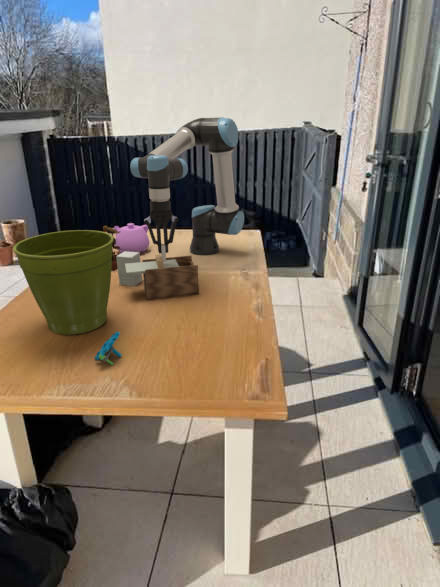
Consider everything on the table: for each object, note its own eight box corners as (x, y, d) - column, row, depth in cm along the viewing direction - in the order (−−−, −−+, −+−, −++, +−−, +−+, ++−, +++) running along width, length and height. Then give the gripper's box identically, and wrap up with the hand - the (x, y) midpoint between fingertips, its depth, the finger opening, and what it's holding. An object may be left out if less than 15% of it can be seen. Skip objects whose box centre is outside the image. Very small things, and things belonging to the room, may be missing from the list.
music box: (126, 263, 203) (121, 222, 193) (122, 272, 193) (117, 230, 184) (94, 263, 202) (88, 223, 193) (89, 273, 192) (82, 231, 183)
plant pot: (116, 300, 161) (107, 226, 150) (128, 335, 135) (119, 249, 124) (32, 312, 152) (16, 234, 141) (28, 352, 126) (8, 260, 115)
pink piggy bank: (133, 243, 234) (130, 216, 228) (159, 249, 223) (157, 221, 218) (105, 252, 220) (102, 223, 214) (132, 259, 209) (129, 229, 203)
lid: (175, 261, 171) (174, 252, 169) (179, 270, 161) (179, 260, 160) (125, 266, 166) (124, 256, 165) (126, 275, 157) (125, 264, 155)
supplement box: (142, 280, 181) (140, 252, 176) (134, 286, 174) (131, 257, 169) (127, 278, 183) (124, 250, 178) (118, 284, 176) (115, 255, 172)
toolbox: (192, 282, 178) (191, 255, 173) (198, 294, 166) (197, 265, 161) (144, 287, 173) (142, 259, 168) (147, 299, 161) (145, 270, 157)
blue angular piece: (102, 341, 128) (120, 324, 123) (117, 353, 130) (136, 336, 125) (86, 365, 119) (105, 347, 114) (102, 378, 120) (122, 360, 115)
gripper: (175, 197, 160) (178, 256, 169) (141, 198, 157) (146, 259, 166) (179, 200, 153) (182, 262, 162) (143, 202, 150) (148, 265, 159)
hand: (163, 260), depth 164 cm, fingers closed
